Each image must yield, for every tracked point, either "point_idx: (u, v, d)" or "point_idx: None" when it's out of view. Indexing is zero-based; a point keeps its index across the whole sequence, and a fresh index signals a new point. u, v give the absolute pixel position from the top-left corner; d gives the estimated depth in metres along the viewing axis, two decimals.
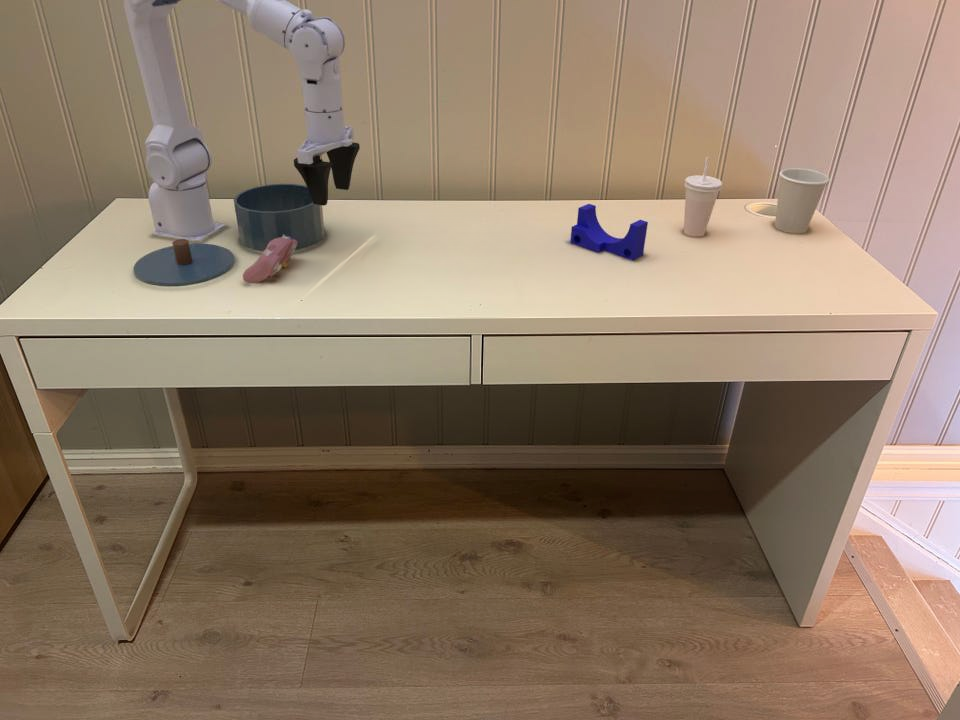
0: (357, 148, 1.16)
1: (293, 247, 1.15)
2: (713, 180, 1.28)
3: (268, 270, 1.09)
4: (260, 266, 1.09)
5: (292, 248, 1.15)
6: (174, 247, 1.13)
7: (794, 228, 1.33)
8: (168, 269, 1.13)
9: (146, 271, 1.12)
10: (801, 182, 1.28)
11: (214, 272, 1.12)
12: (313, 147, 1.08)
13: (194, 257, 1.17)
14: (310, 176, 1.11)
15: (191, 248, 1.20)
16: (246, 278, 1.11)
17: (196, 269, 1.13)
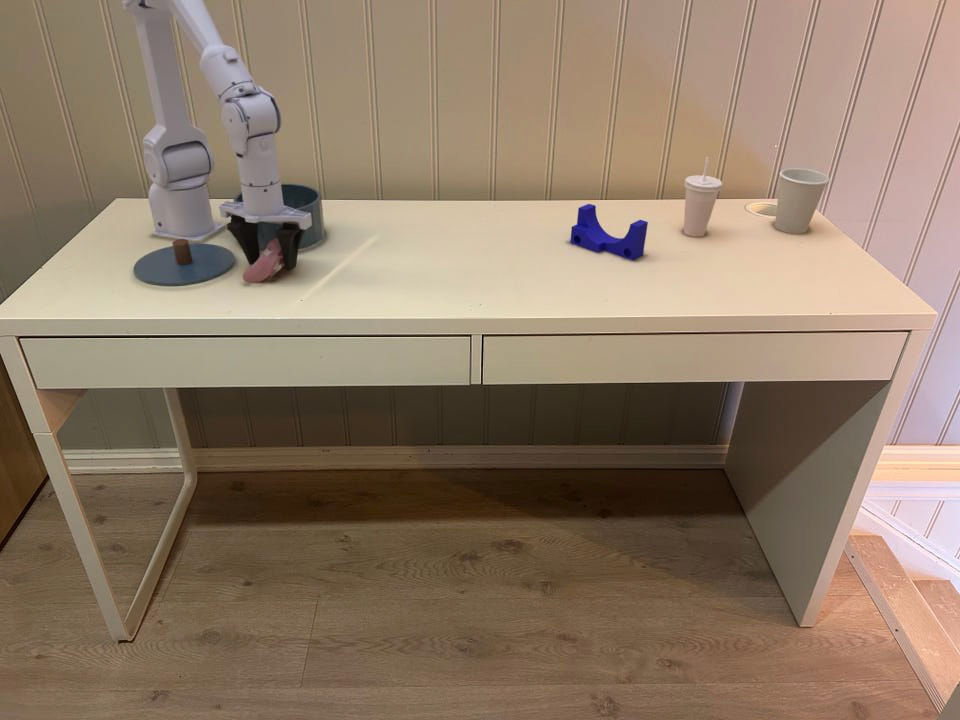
0: (281, 235, 1.08)
1: None
2: (713, 180, 1.28)
3: (268, 270, 1.09)
4: (260, 266, 1.09)
5: None
6: (174, 247, 1.13)
7: (794, 228, 1.33)
8: (168, 269, 1.13)
9: (146, 271, 1.12)
10: (801, 182, 1.28)
11: (214, 272, 1.12)
12: None
13: (194, 257, 1.17)
14: None
15: (191, 248, 1.20)
16: (246, 278, 1.11)
17: (196, 269, 1.13)
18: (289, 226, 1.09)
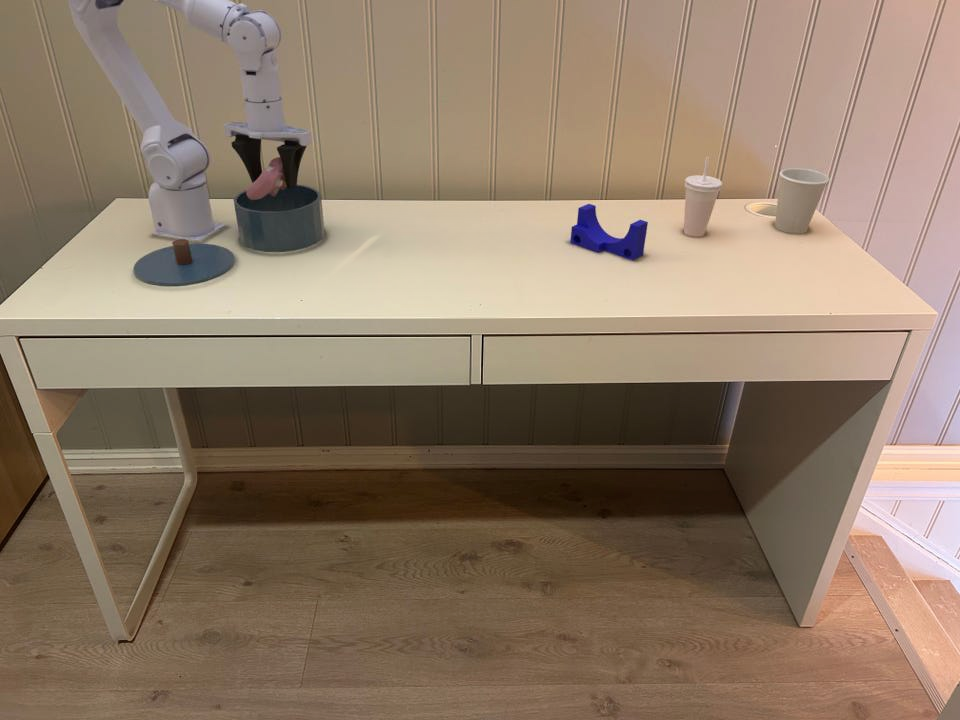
0: (283, 151, 1.14)
1: None
2: (713, 180, 1.28)
3: (270, 185, 1.16)
4: (263, 181, 1.15)
5: None
6: (174, 247, 1.13)
7: (794, 228, 1.33)
8: (168, 269, 1.13)
9: (146, 271, 1.12)
10: (801, 182, 1.28)
11: (214, 272, 1.12)
12: None
13: (194, 257, 1.17)
14: None
15: (191, 248, 1.20)
16: (250, 193, 1.17)
17: (196, 269, 1.13)
18: (290, 143, 1.15)
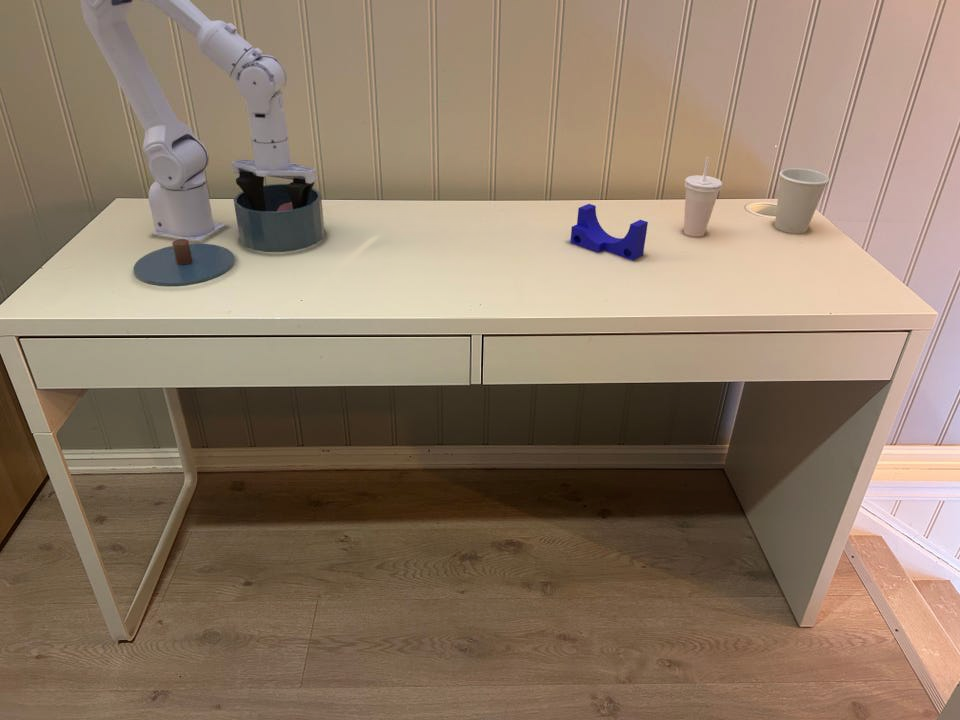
0: (292, 189, 1.18)
1: None
2: (713, 180, 1.28)
3: None
4: None
5: None
6: (174, 247, 1.13)
7: (794, 228, 1.33)
8: (168, 269, 1.13)
9: (146, 271, 1.12)
10: (801, 182, 1.28)
11: (214, 272, 1.12)
12: None
13: (194, 257, 1.17)
14: None
15: (191, 248, 1.20)
16: None
17: (196, 269, 1.13)
18: (299, 181, 1.19)
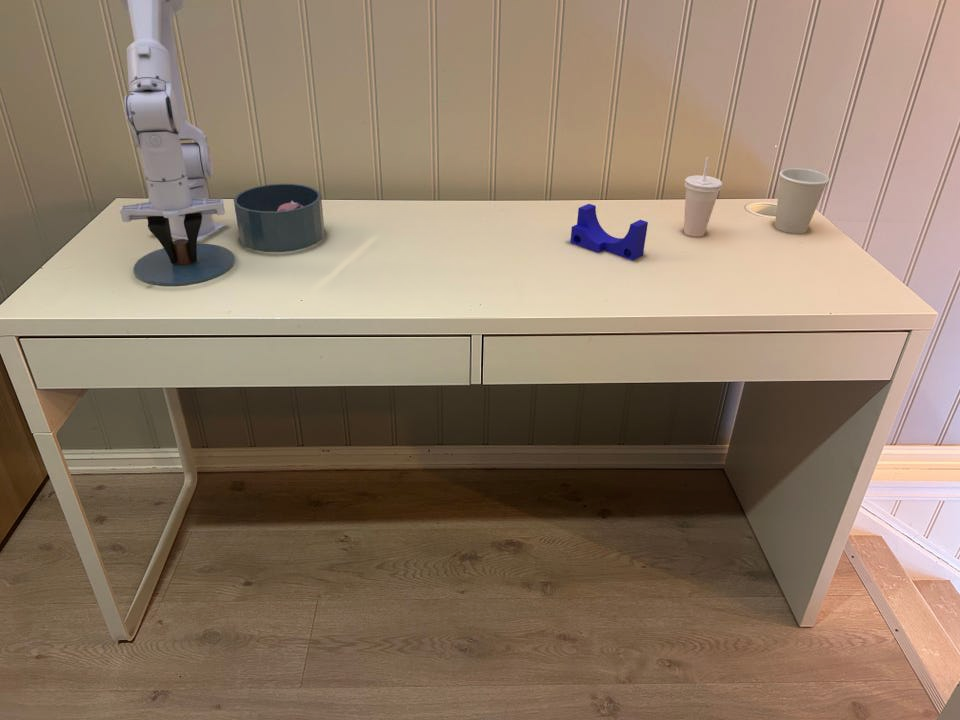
0: (191, 225, 1.10)
1: None
2: (713, 180, 1.28)
3: None
4: None
5: None
6: (174, 247, 1.13)
7: (794, 228, 1.33)
8: (168, 269, 1.13)
9: (147, 271, 1.12)
10: (801, 182, 1.28)
11: (214, 272, 1.12)
12: (138, 208, 1.09)
13: None
14: None
15: None
16: None
17: (196, 269, 1.13)
18: (193, 216, 1.11)
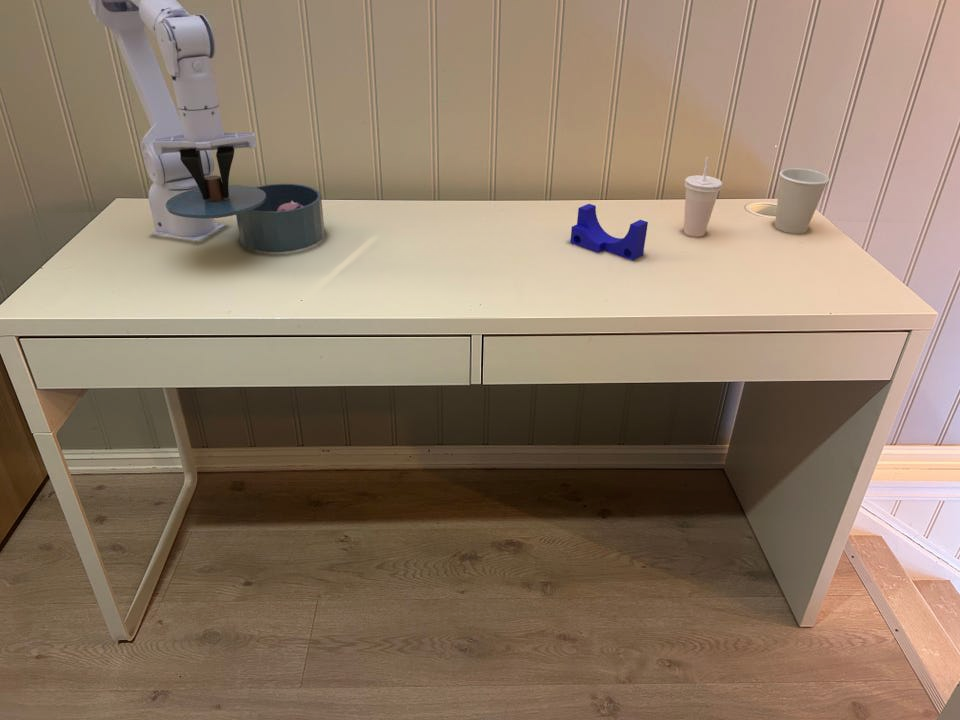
0: (224, 157, 1.09)
1: None
2: (713, 180, 1.28)
3: None
4: None
5: None
6: (206, 182, 1.12)
7: (794, 228, 1.33)
8: (200, 205, 1.12)
9: (179, 207, 1.11)
10: (801, 182, 1.28)
11: (247, 206, 1.11)
12: (171, 140, 1.08)
13: None
14: None
15: None
16: None
17: (228, 204, 1.12)
18: (225, 149, 1.10)
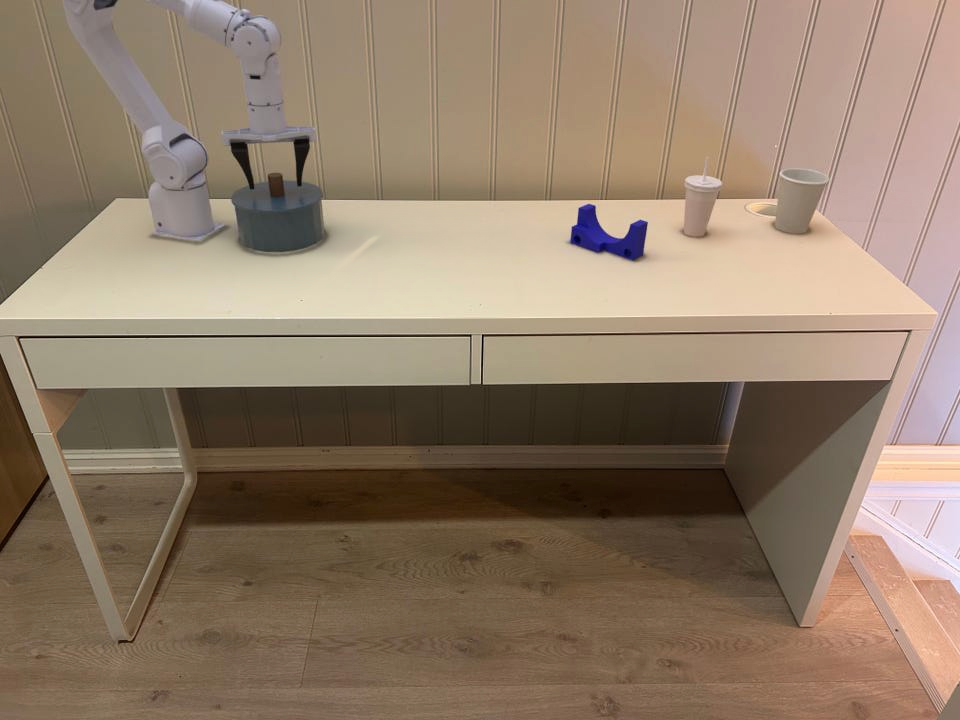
0: (301, 149, 1.18)
1: None
2: (713, 180, 1.28)
3: None
4: None
5: None
6: (269, 179, 1.21)
7: (794, 228, 1.33)
8: (264, 200, 1.20)
9: (244, 202, 1.20)
10: (801, 182, 1.28)
11: (307, 202, 1.20)
12: (238, 133, 1.16)
13: (285, 191, 1.24)
14: None
15: None
16: None
17: (290, 200, 1.21)
18: (302, 142, 1.19)
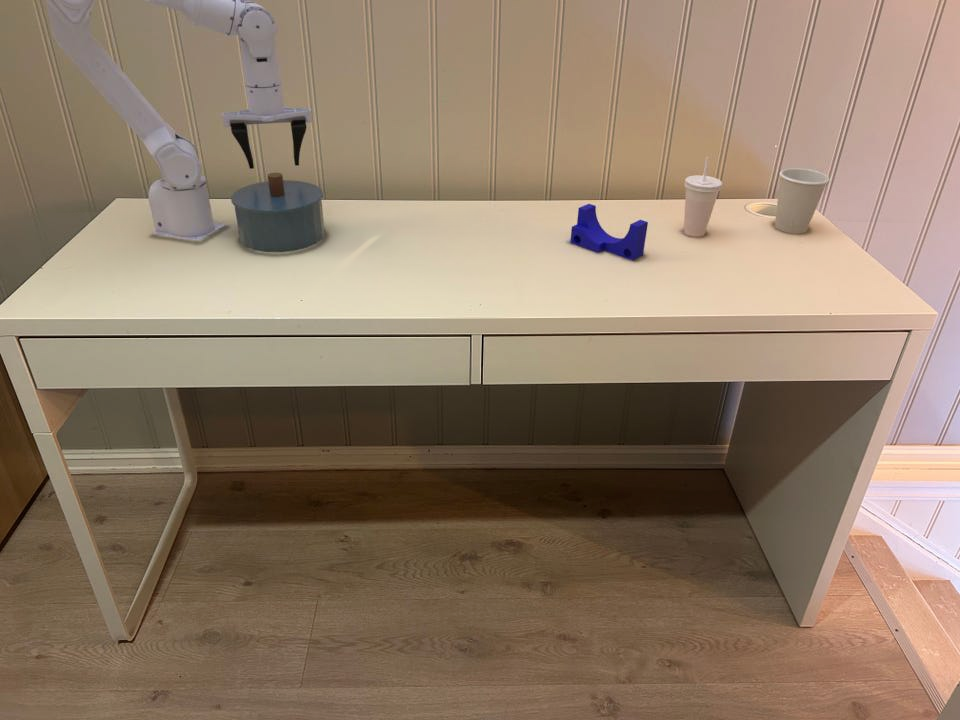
0: (298, 129, 1.23)
1: None
2: (713, 180, 1.28)
3: None
4: None
5: None
6: (269, 179, 1.21)
7: (794, 228, 1.33)
8: (264, 200, 1.20)
9: (244, 202, 1.20)
10: (801, 182, 1.28)
11: (307, 202, 1.20)
12: (237, 114, 1.22)
13: (285, 191, 1.24)
14: None
15: None
16: None
17: (290, 200, 1.21)
18: (298, 122, 1.25)
